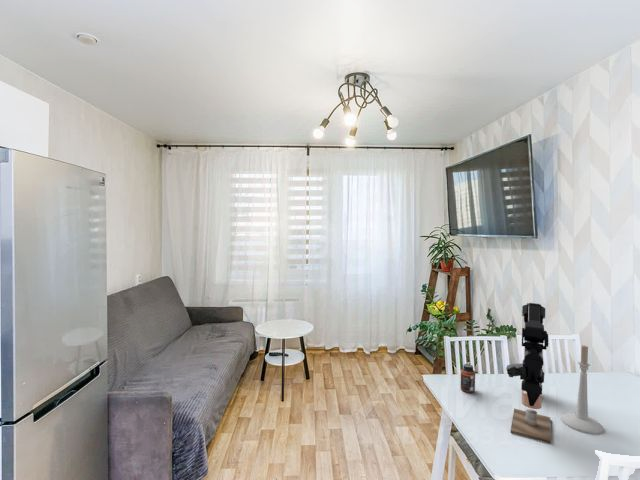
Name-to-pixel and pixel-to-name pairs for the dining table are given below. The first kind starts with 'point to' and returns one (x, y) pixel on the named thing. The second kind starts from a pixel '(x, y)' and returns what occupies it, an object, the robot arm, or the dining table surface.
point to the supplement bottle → (468, 378)
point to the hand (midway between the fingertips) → (531, 402)
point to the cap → (526, 401)
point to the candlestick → (582, 403)
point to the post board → (531, 425)
